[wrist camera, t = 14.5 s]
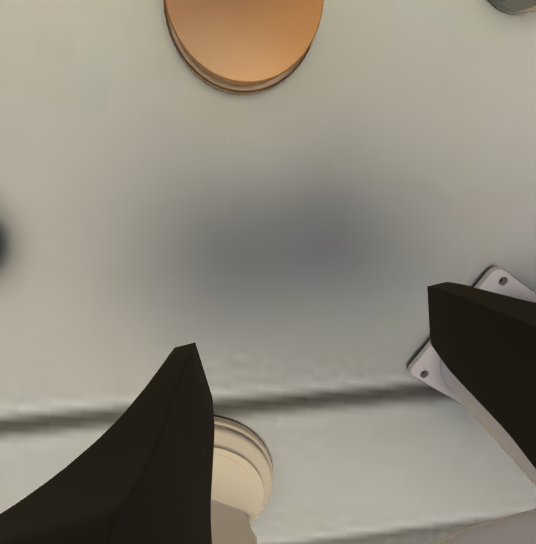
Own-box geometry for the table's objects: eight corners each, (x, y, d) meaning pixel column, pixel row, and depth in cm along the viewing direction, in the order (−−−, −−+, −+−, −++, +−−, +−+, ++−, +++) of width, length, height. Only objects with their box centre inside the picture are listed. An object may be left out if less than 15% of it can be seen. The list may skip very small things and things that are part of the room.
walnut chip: (336, -3, 17) (348, -15, 16) (260, 122, 18) (265, 122, 17) (215, -110, 15) (215, -134, 14) (141, 38, 17) (134, 29, 15)
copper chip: (341, -15, 16) (355, -29, 14) (263, 114, 17) (268, 113, 15) (216, -126, 14) (217, -155, 12) (140, 27, 15) (133, 16, 14)
